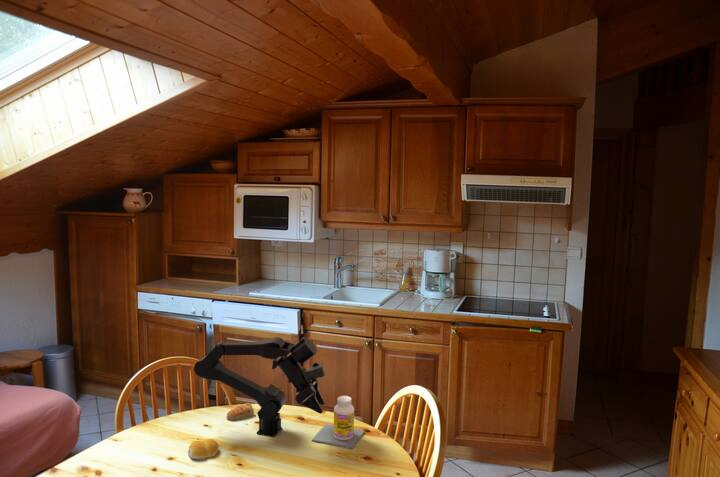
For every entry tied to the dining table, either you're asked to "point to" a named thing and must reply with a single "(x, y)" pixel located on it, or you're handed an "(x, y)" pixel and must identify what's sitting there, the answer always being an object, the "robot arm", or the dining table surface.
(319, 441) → the rubber mat
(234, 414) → the pastry
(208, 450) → the bread roll
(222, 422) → the dining table surface
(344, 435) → the supplement bottle
